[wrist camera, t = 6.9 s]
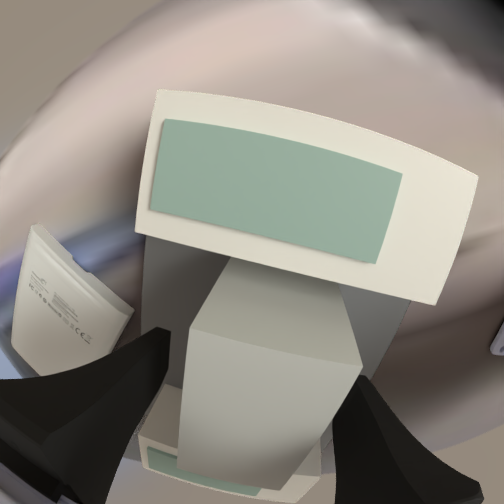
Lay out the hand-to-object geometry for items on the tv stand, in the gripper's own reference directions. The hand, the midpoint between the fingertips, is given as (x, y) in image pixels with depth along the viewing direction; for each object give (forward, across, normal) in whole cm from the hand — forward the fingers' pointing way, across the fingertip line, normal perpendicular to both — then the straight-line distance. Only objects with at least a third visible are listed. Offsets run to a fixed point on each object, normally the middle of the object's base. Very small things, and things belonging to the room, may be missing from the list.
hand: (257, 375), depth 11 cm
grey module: (+3, 0, 0) cm, 3 cm away
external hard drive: (+4, +13, +5) cm, 15 cm away
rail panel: (+4, 0, 0) cm, 4 cm away
